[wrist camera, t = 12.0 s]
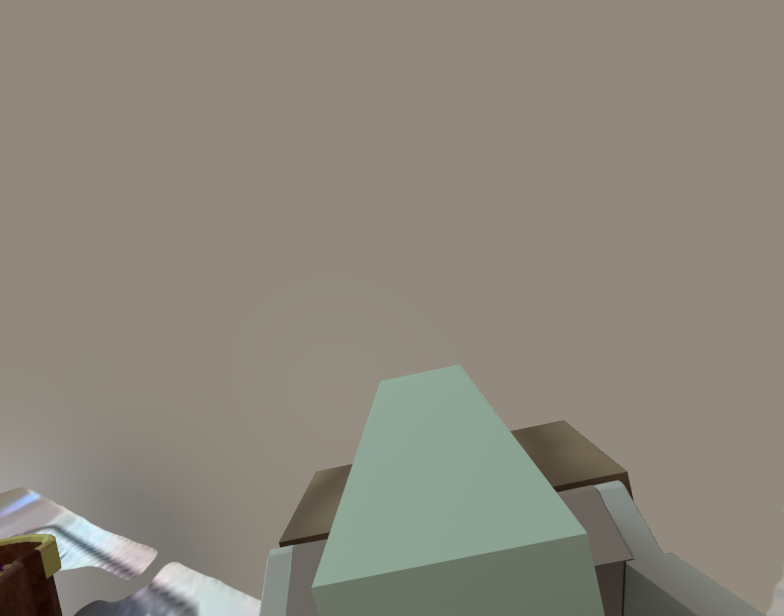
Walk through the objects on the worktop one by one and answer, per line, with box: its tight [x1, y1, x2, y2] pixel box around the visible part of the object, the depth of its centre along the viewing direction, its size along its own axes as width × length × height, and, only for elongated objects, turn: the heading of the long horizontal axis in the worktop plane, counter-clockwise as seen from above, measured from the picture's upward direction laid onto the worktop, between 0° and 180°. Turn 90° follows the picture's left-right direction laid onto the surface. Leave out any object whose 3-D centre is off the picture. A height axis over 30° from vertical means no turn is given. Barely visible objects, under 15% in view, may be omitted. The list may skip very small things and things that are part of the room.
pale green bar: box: [312, 365, 605, 616], centre depth 17 cm, size 4×19×3 cm, turn 178°
